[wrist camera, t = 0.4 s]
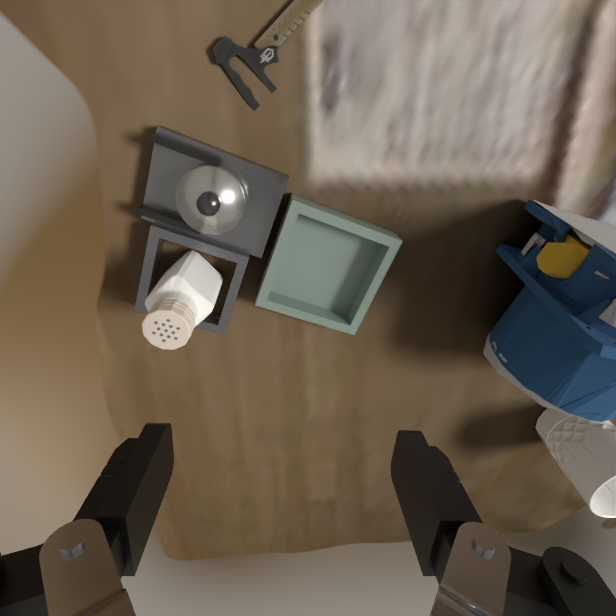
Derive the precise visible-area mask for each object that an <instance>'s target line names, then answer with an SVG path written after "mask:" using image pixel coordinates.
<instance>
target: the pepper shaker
mask: <svg viewBox="0 0 616 616" xmlns="http://www.w3.org/2000/svg"><path fill="white" fill-rule="evenodd" d="M222 282H223V277H222V275H221V274H220V273H219V272H218V271H217V270H216V269H214V268H213V267H212V266H211V265H210V264H209V263H208V262H207V261H206V260H205V259H204V258H203V257H202V256H201V255H200V254H199V253H197V252H196V251H194V250H191V251H188V252H187V253H185V254H184V255H183V256H182V257H181V258H180V259H179V260H178V261H177V262H176V263H175V264H174V265H172V266H171V267H170V268H169V269H168V270H167V271H166V272H165V273H164V275H163V276H162V278H161V279H160V280H159V282H158V283H157V284H156V286H155V287H154V289H153V290H152V291H151V293H150V294H149V295H148V297H147V298H146V301H145V306H146V308H147V310H148V311H149V312H148V314H147V315H146V317H145V319H144V321H143V322H142V329H143V335H144V336H145V337H146V339H147V340H148V341H149V342H150V343H151V344H152V345H155V346H157V347H159V348H161V349H177V348H179V347H181V346H183V345H185V344H186V342H187V341H188V339H189V338H190V336H191V333H192V331H193V329H194V327H195V326H197V325H198V324H199V323H200V322H201V321H203V320H204V319H205V318H206V317H207V316H208V315H209V314H210V313H211V312H212V310H213V308H214V305H215V302H216V300H217V297H218V294H219V291H220V288H221V285H222Z"/></svg>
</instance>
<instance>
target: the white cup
mask: <svg viewBox="0 0 616 616" xmlns="http://www.w3.org/2000/svg"><path fill="white" fill-rule="evenodd" d="M535 428H536V430H537V432H538V435H539V436H540V438H541V439H542V440H543V442H544V443H545V444H546V446H547V447H548V449H549V451H550V453H551V454H552V456H553V457H554V459H555V460H556V462H557V463H558V465H559V466H560V468H561V469H562V471H563V472H564V473H565V475H566V476H567V477H568V479H569V480H570V482H571V483H572V484H573V486H574V487H575V489H576V490H577V491H578V493H579V494H580V496H581V497H582V498H583V500H584V501H585V503H586V504H587V505H588V507H589V508H590V509H591V511H592V512H593V513H594V514H596V515H598V516H601V517H606V518H616V426H615V425H614V424H613V423H611V422H610V421H607V422H604V423H602V424H599V423H596V422H593V421H589V420H586V419H583V418H580V417H576V416H573V415H570V414H566V413H563V412H560V411H557V410H553V409H550V408H547V409H546V410H544V412H543V413H542V414H541V415H540V416H539V418H538V419H537V423H536V427H535Z"/></svg>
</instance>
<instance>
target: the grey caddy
mask: <svg viewBox="0 0 616 616" xmlns="http://www.w3.org/2000/svg"><path fill="white" fill-rule="evenodd" d="M150 142H153V143H154V147H153V152H152V158H151V164H150V169H149V175H148V181H147V186H146V192H145V198H144V203H143V205H142V206H140V207H139V208H138V213H137V214H139V215H141V218H142V219H145V220H148V221H151V222H154V223H153V224H151V226H150V231H149V236H148V241H147V247H146V252H145V257H144V262H143V268H142V273H141V278H140V283H139V289H138V294H137V299H136V304H135V310H136V311H140V312H143V313H147V314H148V312H149V311H148V310H147V308H146V306H145V301H146V298H147V297H148V295H149V294H150V293H151V291H152V290H153V289H154V286H155V281H156V276H157V271H158V267H159V262H160V257H161V252H162V248H163V243H164V240H167V241H170V242H173V243H176V244H179V245H182V246H186V247H189V248H192V249H195V250H198V251H201V252H204V253H207V254H210V255H213V256H216V257H220V258H223V259H226V260H229V261H232V262H235V263H237V265H236V269H235V272H234V275H233V278H232V281H231V285H230V288H229V291H228V294H227V297H226V300H225V304H224V307H223V310H222V313H221V315H220V314H217V313H213V312H211V313H210V314H209V315H208V316H207V317H206V318H205V319H204V320H203V321H201V322H200V323H199V324H198V325H197V326H195V327H198V328H201V329H205V330H208V331H212V332H216V333H219V334H223V335H224V334H225V331H226V328H227V325H228V322H229V319H230V315H231V312H232V309H233V306H234V303H235V300H236V297H237V294H238V291H239V288H240V285H241V282H242V279H243V276H244V273H245V270H246V266H247V263H248V260H249V257H250V255H253V256H256V257H259V258H262V255H263V252H264V249H265V246H266V243H267V240H268V237H269V234H270V231H271V229H272V226H273V223H274V220H275V217H276V214H277V211H278V208H279V205H280V202H281V199H282V196H283V193H284V191H285V188H286V185H287V182H288V179H289V176H288V175H286V174H283V173H281V172H278V171H276V170H273V169H270V168H268V167H265V166H263V165H260V164H258V163H255V162H253V161H250V160H247V159H245V158H242V157H240V156H237V155H235V154H232V153H230V152H227V151H224V150H222V149H219V148H217V147H214V146H212V145H209V144H207V143H204V142H201V141H199V140H196V139H194V138H191V137H189V136H186V135H183V134H181V133H178V132H176V131H173V130H171V129H168V128H166V127H163V126H158V127H157V130H156V133H154V134H151V137H150Z"/></svg>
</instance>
